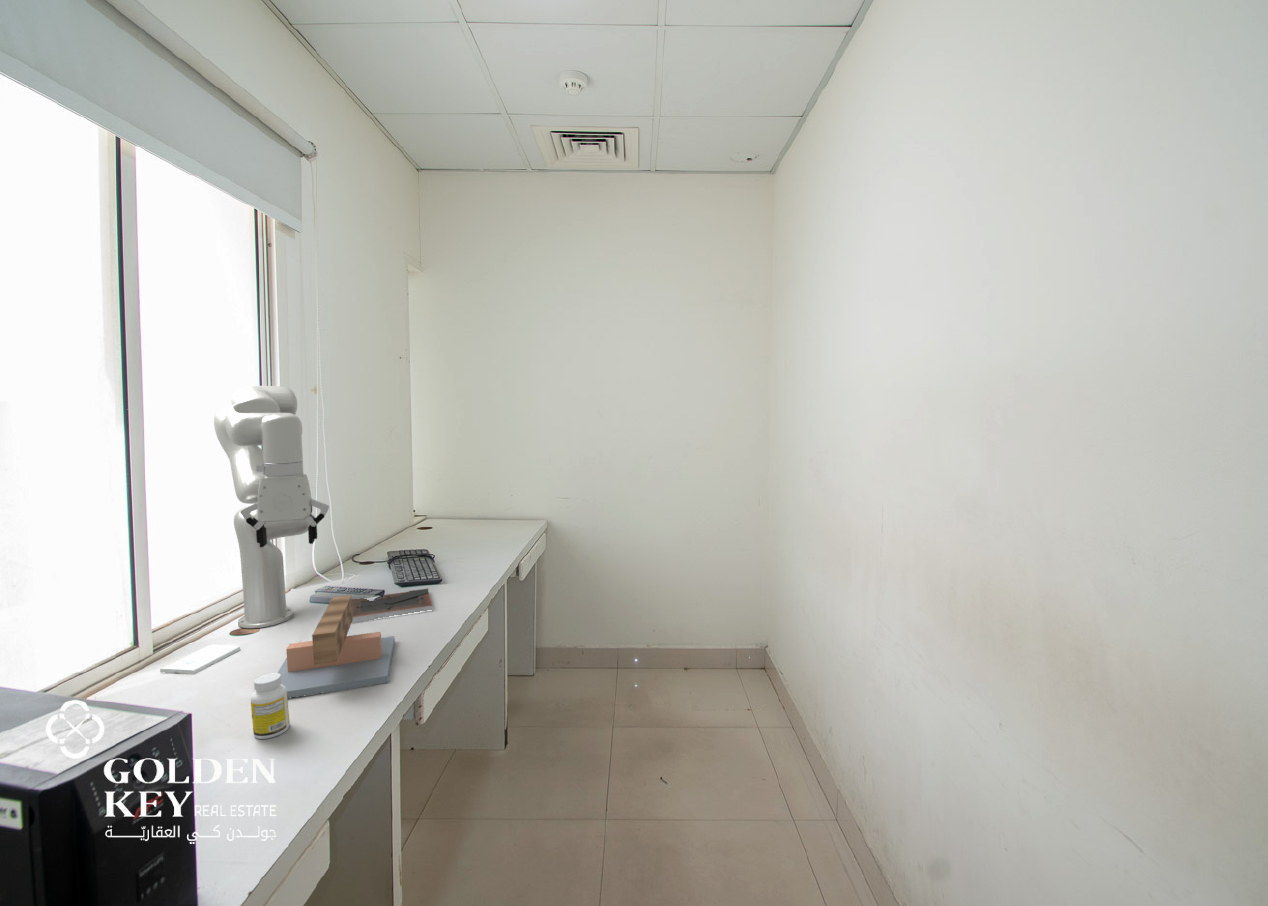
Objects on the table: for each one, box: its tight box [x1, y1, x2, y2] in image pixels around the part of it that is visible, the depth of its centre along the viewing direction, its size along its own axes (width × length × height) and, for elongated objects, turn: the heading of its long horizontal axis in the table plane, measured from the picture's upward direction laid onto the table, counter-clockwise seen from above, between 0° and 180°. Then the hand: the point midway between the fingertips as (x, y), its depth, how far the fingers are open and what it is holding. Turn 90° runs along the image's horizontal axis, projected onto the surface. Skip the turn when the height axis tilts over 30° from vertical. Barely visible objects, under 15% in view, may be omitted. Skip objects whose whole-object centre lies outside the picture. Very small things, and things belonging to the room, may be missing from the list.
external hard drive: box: [159, 644, 241, 675], centre depth 129 cm, size 2×8×12 cm
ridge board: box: [277, 631, 396, 699], centre depth 123 cm, size 22×22×6 cm
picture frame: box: [351, 588, 433, 625], centre depth 162 cm, size 16×2×22 cm
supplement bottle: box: [250, 672, 290, 740], centre depth 99 cm, size 5×5×10 cm
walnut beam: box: [311, 594, 353, 665], centre depth 123 cm, size 24×4×6 cm, turn 20°
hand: (288, 544), depth 129 cm, fingers open, 9 cm apart
